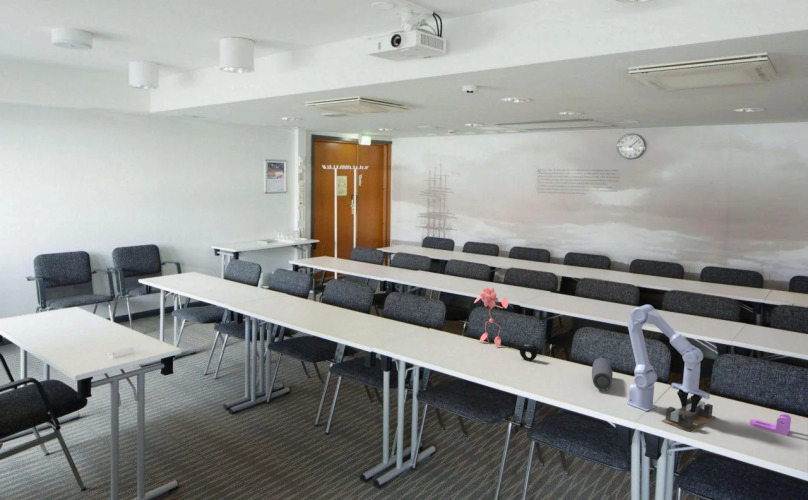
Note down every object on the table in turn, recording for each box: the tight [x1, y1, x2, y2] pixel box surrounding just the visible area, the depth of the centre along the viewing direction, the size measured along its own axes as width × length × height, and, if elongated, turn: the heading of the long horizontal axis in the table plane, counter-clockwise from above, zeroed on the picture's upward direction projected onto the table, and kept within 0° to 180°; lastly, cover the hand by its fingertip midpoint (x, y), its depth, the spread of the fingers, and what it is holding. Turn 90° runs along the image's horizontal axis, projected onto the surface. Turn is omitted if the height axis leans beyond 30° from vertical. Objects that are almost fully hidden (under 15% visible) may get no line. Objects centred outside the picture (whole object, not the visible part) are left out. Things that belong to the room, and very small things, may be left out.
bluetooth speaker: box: [591, 357, 614, 391], centre depth 261 cm, size 23×9×10 cm, turn 161°
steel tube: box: [670, 400, 706, 422], centre depth 223 cm, size 3×22×3 cm, turn 126°
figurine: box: [473, 286, 509, 348], centre depth 317 cm, size 15×26×35 cm, turn 40°
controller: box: [515, 342, 539, 362], centre depth 295 cm, size 4×12×10 cm, turn 53°
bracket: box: [749, 412, 792, 437], centre depth 217 cm, size 13×6×7 cm, turn 46°
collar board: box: [661, 397, 716, 433], centre depth 224 cm, size 11×22×6 cm, turn 126°
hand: (688, 410), depth 223 cm, fingers closed on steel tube, 3 cm apart
